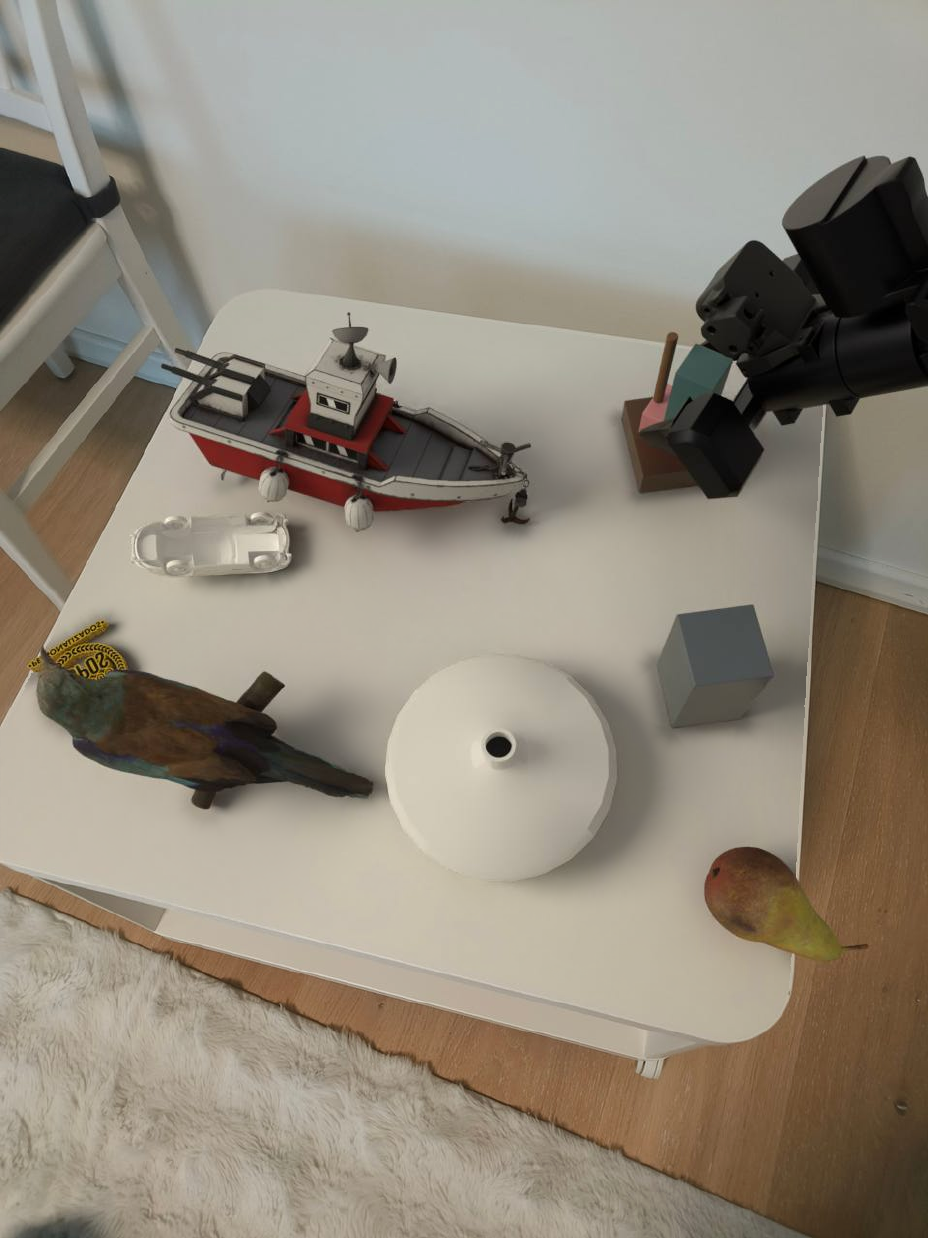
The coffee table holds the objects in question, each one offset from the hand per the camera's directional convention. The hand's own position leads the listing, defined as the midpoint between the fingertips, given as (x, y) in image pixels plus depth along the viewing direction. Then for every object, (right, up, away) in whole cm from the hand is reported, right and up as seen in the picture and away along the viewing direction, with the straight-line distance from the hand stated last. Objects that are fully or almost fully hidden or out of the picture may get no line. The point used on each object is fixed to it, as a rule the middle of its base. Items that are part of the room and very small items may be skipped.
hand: (671, 393), depth 65 cm
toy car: (-36, -11, 0) cm, 37 cm away
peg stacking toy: (+1, -2, +3) cm, 4 cm away
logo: (-47, -19, +1) cm, 51 cm away
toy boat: (-24, -6, +6) cm, 26 cm away
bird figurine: (-32, -27, -3) cm, 42 cm away
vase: (-13, -28, -5) cm, 32 cm away
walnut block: (+2, -3, +5) cm, 6 cm away
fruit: (0, -33, -12) cm, 35 cm away
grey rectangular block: (+1, -23, -3) cm, 23 cm away
